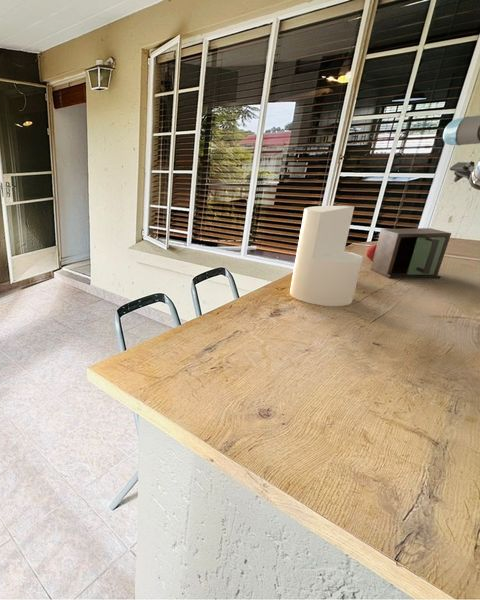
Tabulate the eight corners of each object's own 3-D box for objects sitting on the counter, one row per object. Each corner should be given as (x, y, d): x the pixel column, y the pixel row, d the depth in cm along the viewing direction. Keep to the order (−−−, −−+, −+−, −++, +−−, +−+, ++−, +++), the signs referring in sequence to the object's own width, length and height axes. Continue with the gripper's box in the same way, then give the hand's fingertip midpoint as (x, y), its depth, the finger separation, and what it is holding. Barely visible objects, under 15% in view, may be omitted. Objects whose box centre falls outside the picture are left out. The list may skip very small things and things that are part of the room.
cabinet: (440, 278, 124) (455, 233, 119) (389, 278, 127) (401, 234, 122) (417, 269, 135) (429, 228, 129) (370, 269, 138) (380, 229, 132)
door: (444, 278, 120) (457, 239, 115) (417, 278, 122) (429, 239, 117) (432, 274, 125) (444, 236, 121) (406, 274, 127) (417, 236, 122)
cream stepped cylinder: (278, 294, 118) (292, 209, 108) (309, 284, 125) (325, 204, 115) (332, 310, 104) (354, 214, 94) (364, 298, 111) (387, 208, 101)
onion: (362, 261, 149) (367, 242, 146) (366, 258, 152) (370, 240, 149) (379, 263, 144) (384, 244, 142) (383, 261, 148) (388, 242, 145)
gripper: (438, 157, 106) (432, 176, 122) (514, 214, 96) (497, 227, 112) (467, 136, 102) (457, 158, 118) (550, 194, 92) (527, 210, 108)
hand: (477, 192), depth 115 cm, fingers open, 13 cm apart
